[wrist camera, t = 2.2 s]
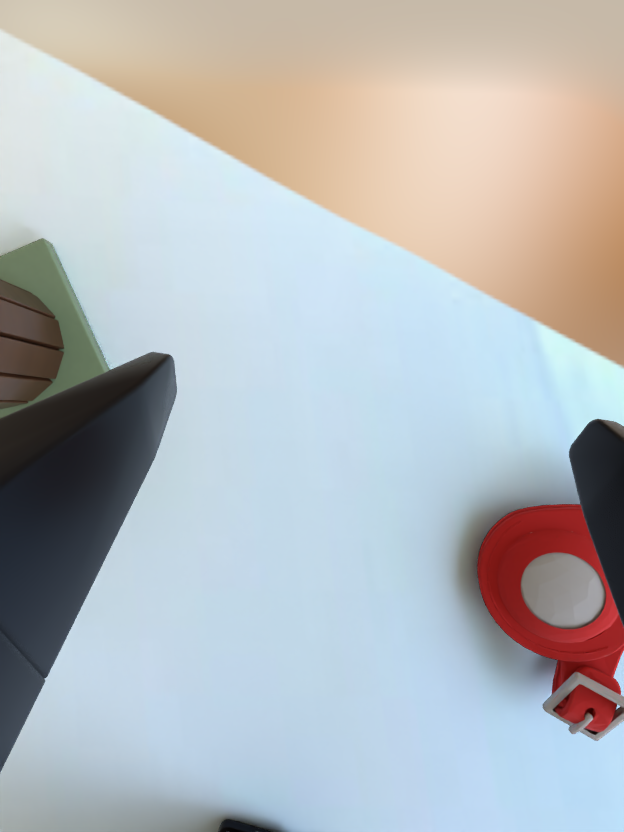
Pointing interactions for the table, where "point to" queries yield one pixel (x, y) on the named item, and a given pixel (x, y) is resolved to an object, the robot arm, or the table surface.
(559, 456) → the table surface
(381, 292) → the table surface
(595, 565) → the tracker holder
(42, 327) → the brown slatted pencil holder
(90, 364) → the peg stand
